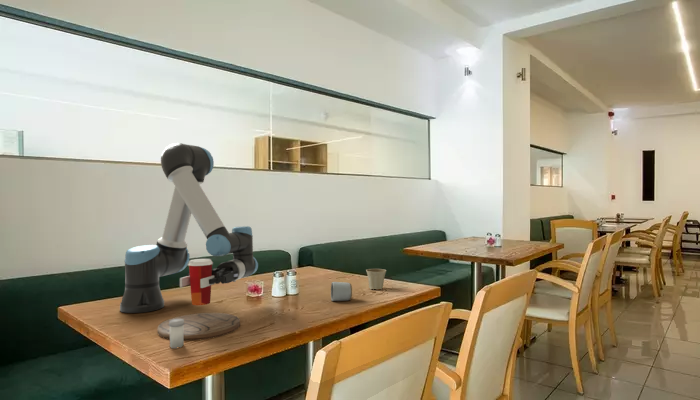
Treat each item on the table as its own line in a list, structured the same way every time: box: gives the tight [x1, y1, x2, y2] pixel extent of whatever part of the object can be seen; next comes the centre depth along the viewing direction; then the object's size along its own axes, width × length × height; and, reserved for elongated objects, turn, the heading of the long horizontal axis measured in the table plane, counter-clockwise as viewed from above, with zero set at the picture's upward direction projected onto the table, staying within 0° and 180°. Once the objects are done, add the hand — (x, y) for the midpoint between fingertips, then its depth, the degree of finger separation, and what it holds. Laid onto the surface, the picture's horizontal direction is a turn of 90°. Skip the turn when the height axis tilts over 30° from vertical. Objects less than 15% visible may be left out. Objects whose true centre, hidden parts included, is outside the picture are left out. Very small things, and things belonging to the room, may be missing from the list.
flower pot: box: [365, 268, 387, 290], centre depth 197 cm, size 9×9×9 cm
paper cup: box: [187, 258, 214, 307], centre depth 138 cm, size 8×8×14 cm
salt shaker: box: [169, 319, 185, 349], centre depth 120 cm, size 4×4×7 cm
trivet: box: [157, 312, 241, 341], centre depth 138 cm, size 25×25×2 cm
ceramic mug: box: [330, 281, 353, 302], centre depth 176 cm, size 11×8×8 cm
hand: (191, 283), depth 133 cm, fingers closed on paper cup, 7 cm apart
